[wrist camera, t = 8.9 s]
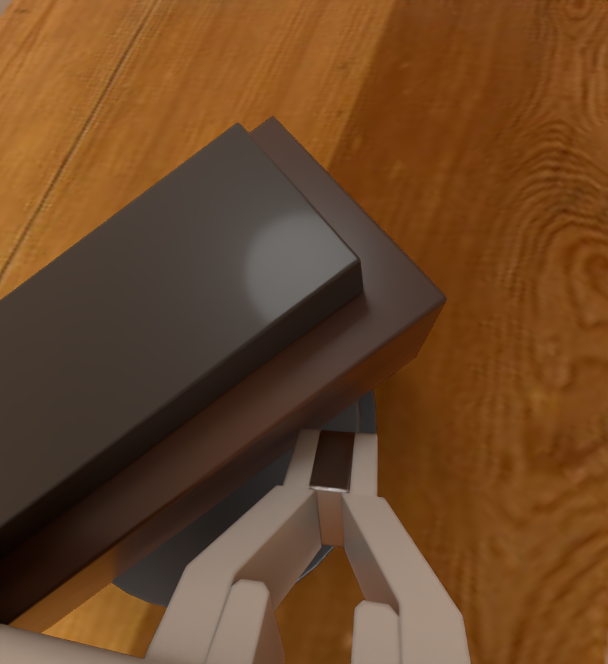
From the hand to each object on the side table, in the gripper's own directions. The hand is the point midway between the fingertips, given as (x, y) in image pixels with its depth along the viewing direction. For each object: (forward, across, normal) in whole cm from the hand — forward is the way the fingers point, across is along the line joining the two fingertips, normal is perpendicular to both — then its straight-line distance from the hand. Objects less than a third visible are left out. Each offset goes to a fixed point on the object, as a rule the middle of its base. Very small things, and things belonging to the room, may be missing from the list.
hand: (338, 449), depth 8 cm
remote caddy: (+3, +5, +2) cm, 6 cm away
